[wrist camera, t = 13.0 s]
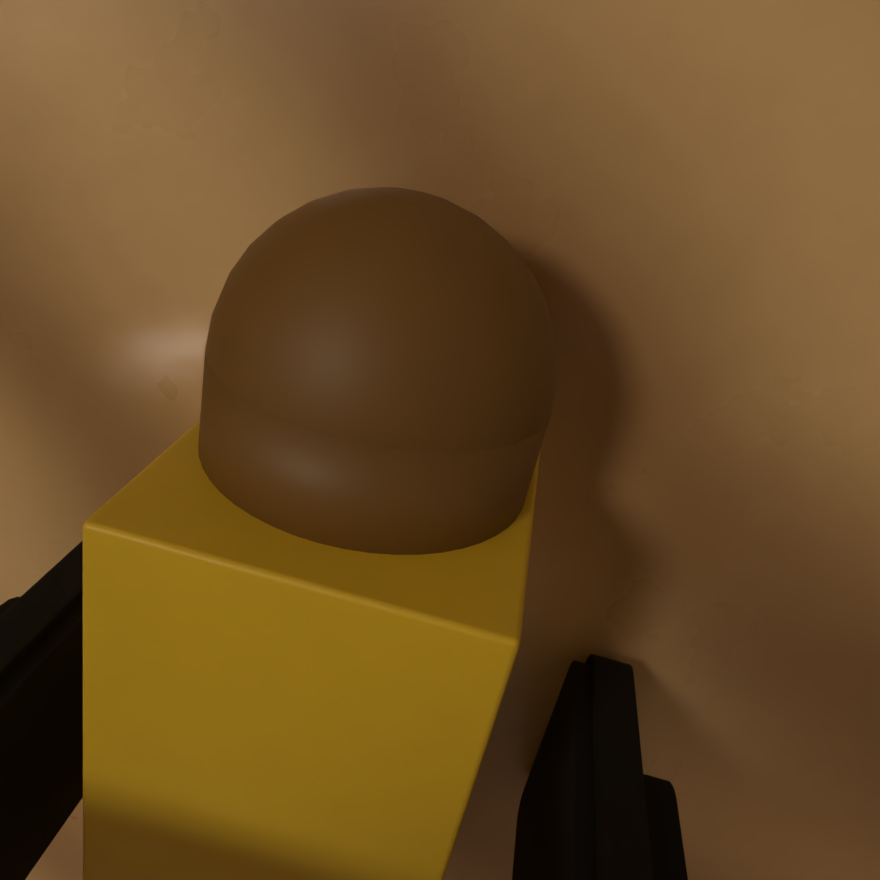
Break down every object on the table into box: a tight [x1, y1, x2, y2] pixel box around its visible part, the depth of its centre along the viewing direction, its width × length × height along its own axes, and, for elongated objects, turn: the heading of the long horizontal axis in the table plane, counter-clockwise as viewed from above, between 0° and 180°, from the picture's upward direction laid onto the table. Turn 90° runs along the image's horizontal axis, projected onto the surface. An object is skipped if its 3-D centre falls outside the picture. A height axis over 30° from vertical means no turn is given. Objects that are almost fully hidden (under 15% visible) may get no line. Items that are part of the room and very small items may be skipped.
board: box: [0, 0, 880, 880], centre depth 11 cm, size 20×16×2 cm
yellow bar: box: [83, 187, 558, 880], centre depth 9 cm, size 14×3×4 cm, turn 168°
